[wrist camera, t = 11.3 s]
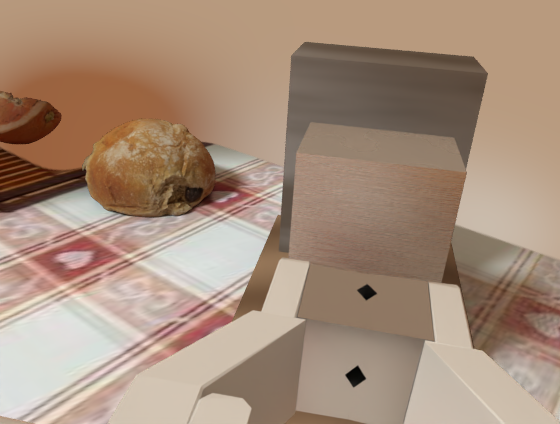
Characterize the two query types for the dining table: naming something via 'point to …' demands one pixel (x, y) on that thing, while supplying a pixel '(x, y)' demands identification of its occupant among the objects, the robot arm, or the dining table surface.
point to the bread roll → (149, 169)
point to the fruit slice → (25, 119)
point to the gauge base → (368, 114)
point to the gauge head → (376, 200)
